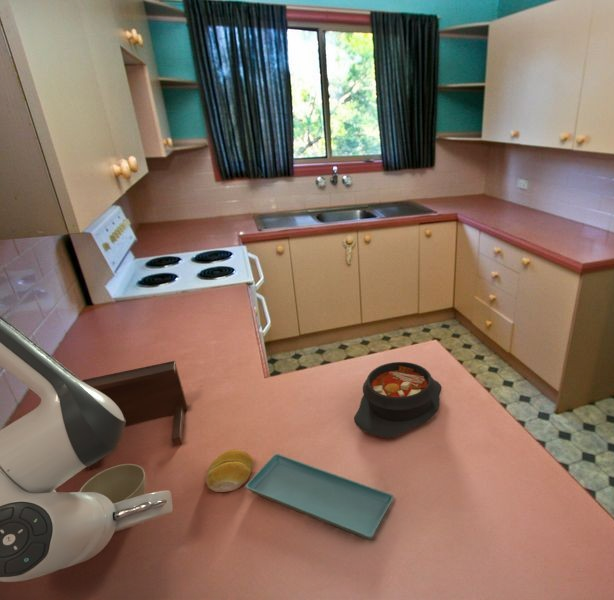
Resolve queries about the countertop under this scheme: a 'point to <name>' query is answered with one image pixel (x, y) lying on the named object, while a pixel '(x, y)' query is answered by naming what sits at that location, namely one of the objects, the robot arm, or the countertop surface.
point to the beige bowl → (118, 482)
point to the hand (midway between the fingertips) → (111, 521)
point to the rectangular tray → (321, 495)
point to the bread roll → (229, 471)
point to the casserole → (397, 399)
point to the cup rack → (146, 395)
